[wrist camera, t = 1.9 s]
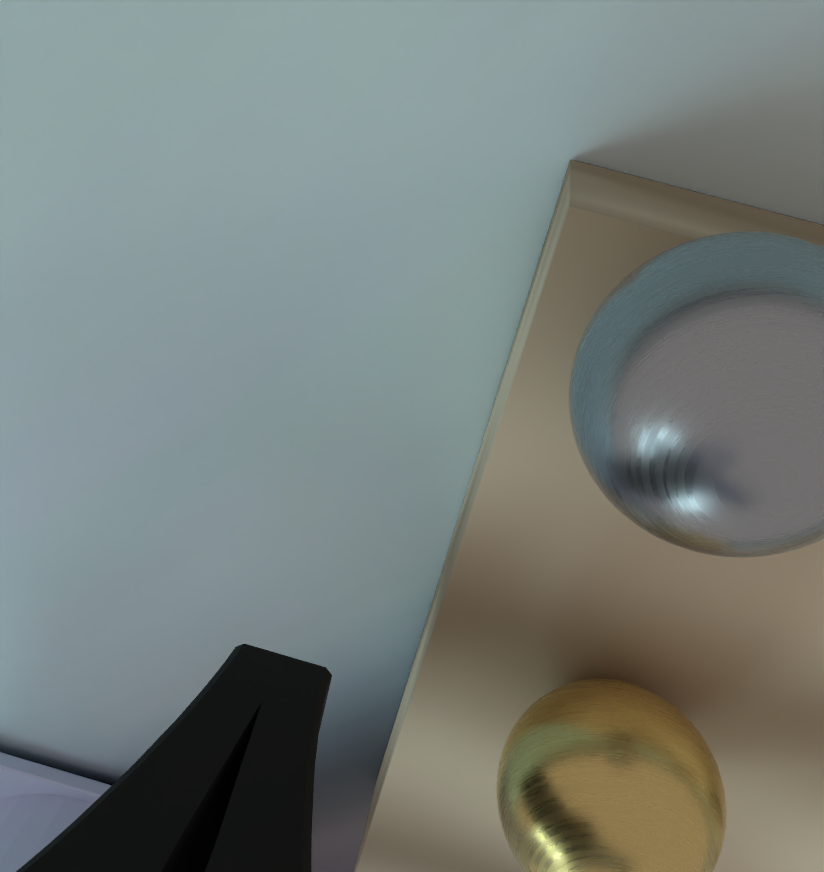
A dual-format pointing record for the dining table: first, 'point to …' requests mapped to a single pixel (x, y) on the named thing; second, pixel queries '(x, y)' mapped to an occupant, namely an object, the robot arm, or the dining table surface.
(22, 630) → the dining table surface
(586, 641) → the plate
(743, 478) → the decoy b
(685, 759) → the ball
